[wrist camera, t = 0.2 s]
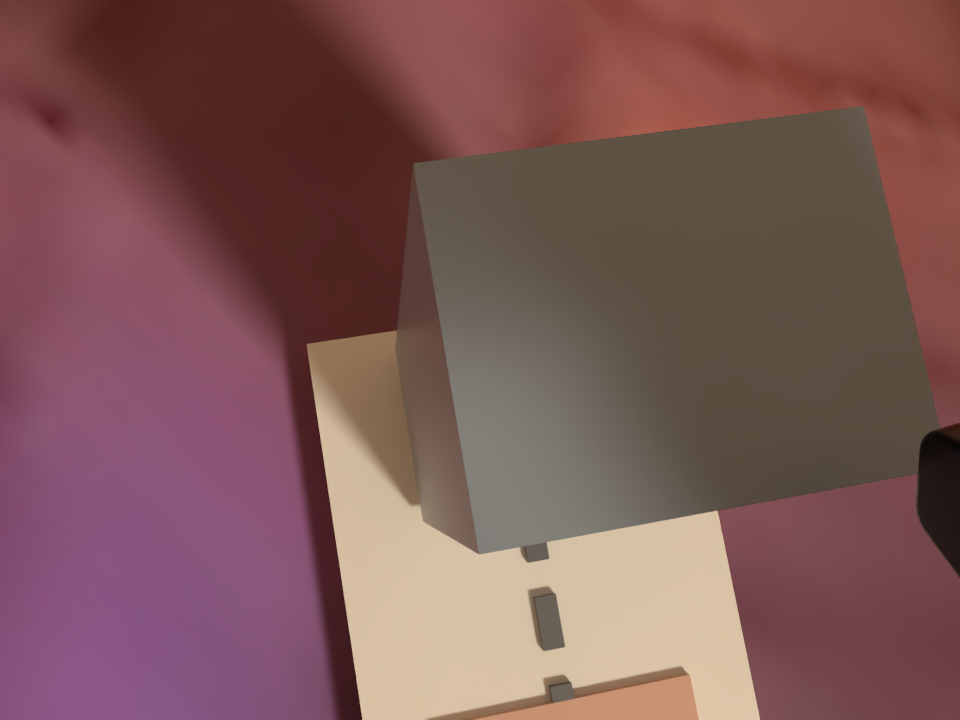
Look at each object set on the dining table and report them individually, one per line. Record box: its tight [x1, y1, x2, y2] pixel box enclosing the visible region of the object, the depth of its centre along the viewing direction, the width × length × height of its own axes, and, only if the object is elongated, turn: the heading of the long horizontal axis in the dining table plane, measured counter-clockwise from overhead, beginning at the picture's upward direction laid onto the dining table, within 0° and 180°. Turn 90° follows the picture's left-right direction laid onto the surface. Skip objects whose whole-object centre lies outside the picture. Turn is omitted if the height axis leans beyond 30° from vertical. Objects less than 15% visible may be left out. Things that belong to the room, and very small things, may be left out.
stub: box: [395, 106, 940, 555], centre depth 15 cm, size 4×5×12 cm
